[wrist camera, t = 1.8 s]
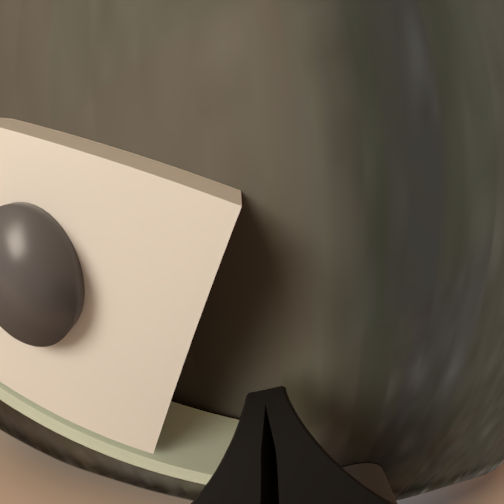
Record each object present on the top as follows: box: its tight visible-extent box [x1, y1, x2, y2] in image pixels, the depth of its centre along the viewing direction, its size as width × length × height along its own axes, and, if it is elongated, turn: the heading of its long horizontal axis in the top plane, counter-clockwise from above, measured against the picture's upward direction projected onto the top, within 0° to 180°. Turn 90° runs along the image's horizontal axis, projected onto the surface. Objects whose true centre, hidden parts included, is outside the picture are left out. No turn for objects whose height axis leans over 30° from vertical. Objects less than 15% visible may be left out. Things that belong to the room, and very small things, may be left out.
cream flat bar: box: [0, 382, 239, 485], centre depth 11 cm, size 17×1×4 cm, turn 69°
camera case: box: [0, 118, 242, 454], centre depth 9 cm, size 11×10×5 cm
